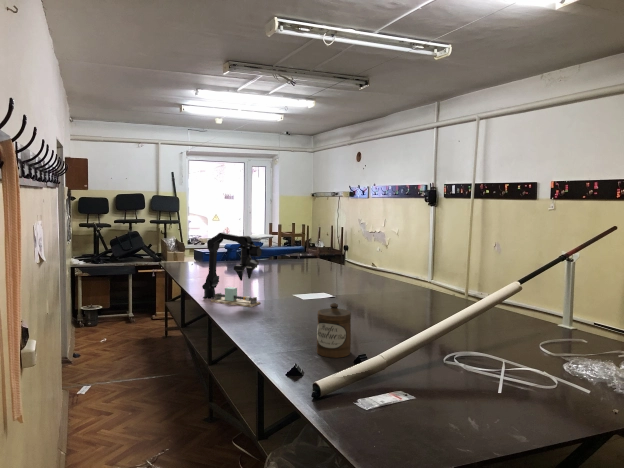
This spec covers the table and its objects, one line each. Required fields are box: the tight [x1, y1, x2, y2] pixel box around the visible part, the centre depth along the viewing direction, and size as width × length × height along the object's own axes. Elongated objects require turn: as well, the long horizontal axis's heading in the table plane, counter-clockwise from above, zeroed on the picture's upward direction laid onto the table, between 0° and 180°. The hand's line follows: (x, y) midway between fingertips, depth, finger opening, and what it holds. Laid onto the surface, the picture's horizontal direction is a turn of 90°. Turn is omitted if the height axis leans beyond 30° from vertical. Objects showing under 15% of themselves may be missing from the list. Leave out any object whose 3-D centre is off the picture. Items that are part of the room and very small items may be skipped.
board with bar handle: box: [210, 292, 261, 308], centre depth 306 cm, size 30×11×5 cm, turn 65°
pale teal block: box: [224, 286, 238, 301], centre depth 307 cm, size 6×5×8 cm
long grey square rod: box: [218, 293, 255, 301], centre depth 306 cm, size 29×2×2 cm, turn 65°
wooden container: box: [316, 302, 352, 359], centre depth 210 cm, size 15×15×22 cm
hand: (245, 279), depth 308 cm, fingers open, 9 cm apart
